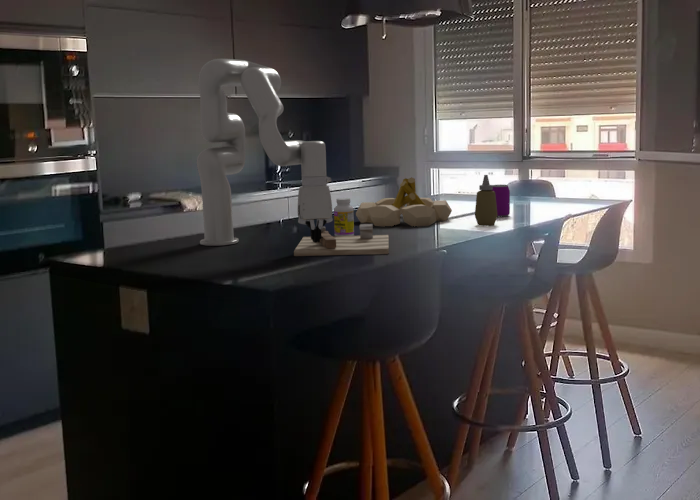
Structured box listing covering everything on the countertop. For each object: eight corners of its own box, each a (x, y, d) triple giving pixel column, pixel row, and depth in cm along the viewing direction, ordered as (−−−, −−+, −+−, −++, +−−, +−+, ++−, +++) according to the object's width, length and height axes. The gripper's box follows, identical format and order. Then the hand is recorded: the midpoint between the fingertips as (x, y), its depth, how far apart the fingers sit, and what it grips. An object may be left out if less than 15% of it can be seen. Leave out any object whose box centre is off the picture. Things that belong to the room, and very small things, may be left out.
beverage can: (487, 217, 319) (487, 186, 317) (492, 214, 326) (492, 184, 324) (507, 217, 316) (507, 186, 314) (511, 215, 323) (511, 184, 321)
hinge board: (303, 241, 273) (302, 223, 272) (388, 239, 272) (388, 221, 271) (294, 256, 246) (293, 236, 245) (388, 253, 244) (388, 233, 243)
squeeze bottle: (487, 227, 292) (487, 176, 289) (470, 225, 298) (469, 175, 295) (502, 224, 297) (502, 174, 294) (484, 223, 303) (484, 173, 300)
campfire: (421, 230, 292) (421, 181, 289) (341, 225, 310) (340, 180, 308) (464, 218, 321) (464, 173, 318) (388, 214, 339) (387, 172, 337)
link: (315, 239, 265) (315, 231, 265) (327, 238, 266) (327, 230, 266) (324, 248, 246) (324, 240, 246) (337, 247, 247) (337, 239, 247)
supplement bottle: (330, 236, 281) (329, 199, 279) (343, 234, 286) (342, 197, 284) (344, 238, 277) (343, 200, 275) (358, 235, 282) (357, 198, 279)
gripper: (334, 180, 257) (336, 238, 260) (287, 182, 253) (289, 241, 256) (341, 181, 250) (343, 241, 253) (293, 184, 246) (295, 245, 249)
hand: (316, 241), depth 254 cm, fingers closed
